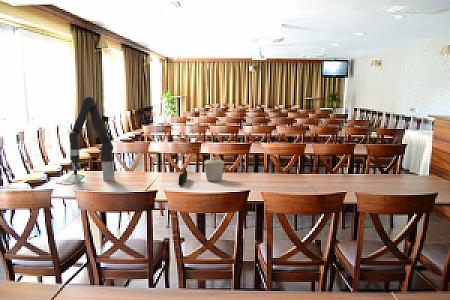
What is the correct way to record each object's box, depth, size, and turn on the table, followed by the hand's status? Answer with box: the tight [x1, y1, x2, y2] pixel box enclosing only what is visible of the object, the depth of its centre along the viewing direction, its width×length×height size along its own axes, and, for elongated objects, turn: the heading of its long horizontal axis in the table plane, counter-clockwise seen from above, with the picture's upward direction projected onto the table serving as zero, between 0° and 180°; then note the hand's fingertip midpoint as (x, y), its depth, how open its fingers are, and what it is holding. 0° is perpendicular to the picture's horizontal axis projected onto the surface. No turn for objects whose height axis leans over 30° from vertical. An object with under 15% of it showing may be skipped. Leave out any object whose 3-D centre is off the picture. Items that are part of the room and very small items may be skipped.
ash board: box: [55, 179, 77, 186], centre depth 343 cm, size 16×8×2 cm, turn 56°
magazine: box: [178, 167, 188, 186], centre depth 348 cm, size 17×3×30 cm
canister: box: [203, 156, 226, 183], centre depth 358 cm, size 18×18×21 cm
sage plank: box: [64, 172, 86, 184], centre depth 350 cm, size 16×10×2 cm, turn 56°
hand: (75, 174), depth 353 cm, fingers closed
